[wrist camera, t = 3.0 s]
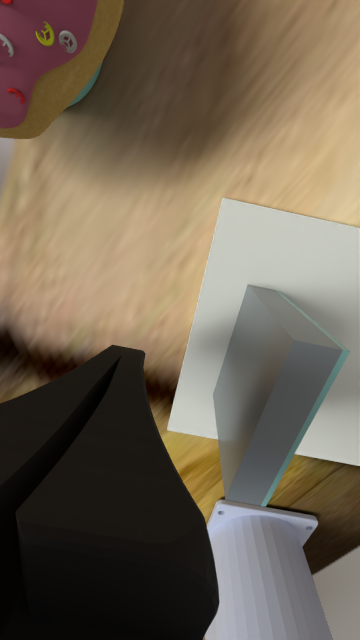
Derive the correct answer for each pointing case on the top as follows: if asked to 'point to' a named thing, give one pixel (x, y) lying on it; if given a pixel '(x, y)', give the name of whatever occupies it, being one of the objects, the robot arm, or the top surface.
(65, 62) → the cupcake
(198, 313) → the mat
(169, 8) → the top surface
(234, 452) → the tile
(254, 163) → the top surface
